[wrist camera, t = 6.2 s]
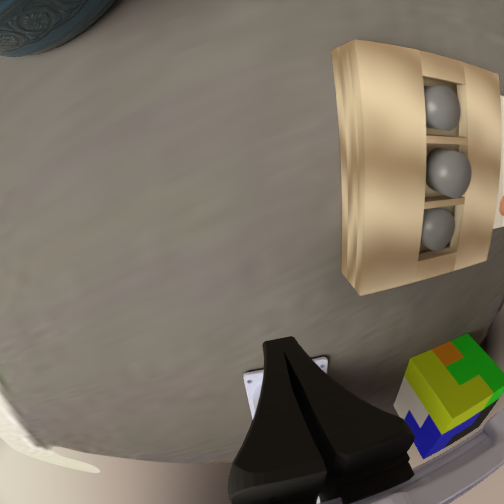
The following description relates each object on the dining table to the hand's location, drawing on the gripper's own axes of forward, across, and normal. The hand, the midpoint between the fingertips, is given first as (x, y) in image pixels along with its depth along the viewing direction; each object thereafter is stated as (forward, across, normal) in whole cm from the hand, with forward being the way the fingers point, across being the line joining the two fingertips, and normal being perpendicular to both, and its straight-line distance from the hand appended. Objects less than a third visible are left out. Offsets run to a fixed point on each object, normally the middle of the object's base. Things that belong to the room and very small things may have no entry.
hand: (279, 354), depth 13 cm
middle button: (+7, -14, -6) cm, 17 cm away
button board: (+9, -14, -6) cm, 18 cm away
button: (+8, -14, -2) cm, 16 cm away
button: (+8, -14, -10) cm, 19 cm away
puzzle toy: (+10, -22, +21) cm, 32 cm away
